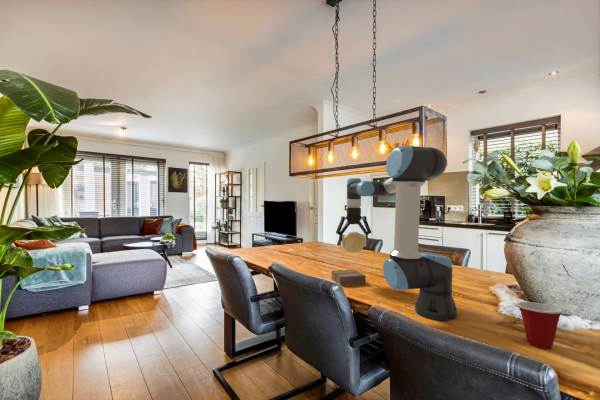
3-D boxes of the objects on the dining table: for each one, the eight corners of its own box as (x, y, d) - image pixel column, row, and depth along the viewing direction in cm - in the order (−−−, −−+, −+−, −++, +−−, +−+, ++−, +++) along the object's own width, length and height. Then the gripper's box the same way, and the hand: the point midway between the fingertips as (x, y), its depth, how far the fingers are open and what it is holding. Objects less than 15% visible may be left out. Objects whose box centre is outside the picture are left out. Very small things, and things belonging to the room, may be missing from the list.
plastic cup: (544, 336, 92) (544, 299, 92) (573, 354, 82) (573, 312, 82) (509, 335, 93) (508, 298, 93) (532, 352, 83) (532, 311, 83)
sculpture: (353, 254, 145) (353, 233, 145) (337, 250, 155) (338, 231, 155) (369, 252, 152) (369, 232, 151) (352, 248, 161) (353, 229, 161)
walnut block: (365, 285, 150) (365, 275, 150) (340, 287, 147) (340, 277, 147) (354, 278, 164) (354, 269, 164) (331, 279, 161) (331, 270, 161)
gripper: (371, 206, 159) (371, 244, 159) (330, 206, 154) (329, 246, 155) (377, 207, 151) (377, 247, 152) (334, 207, 147) (334, 248, 147)
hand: (353, 246), depth 153 cm, fingers closed on sculpture, 12 cm apart
